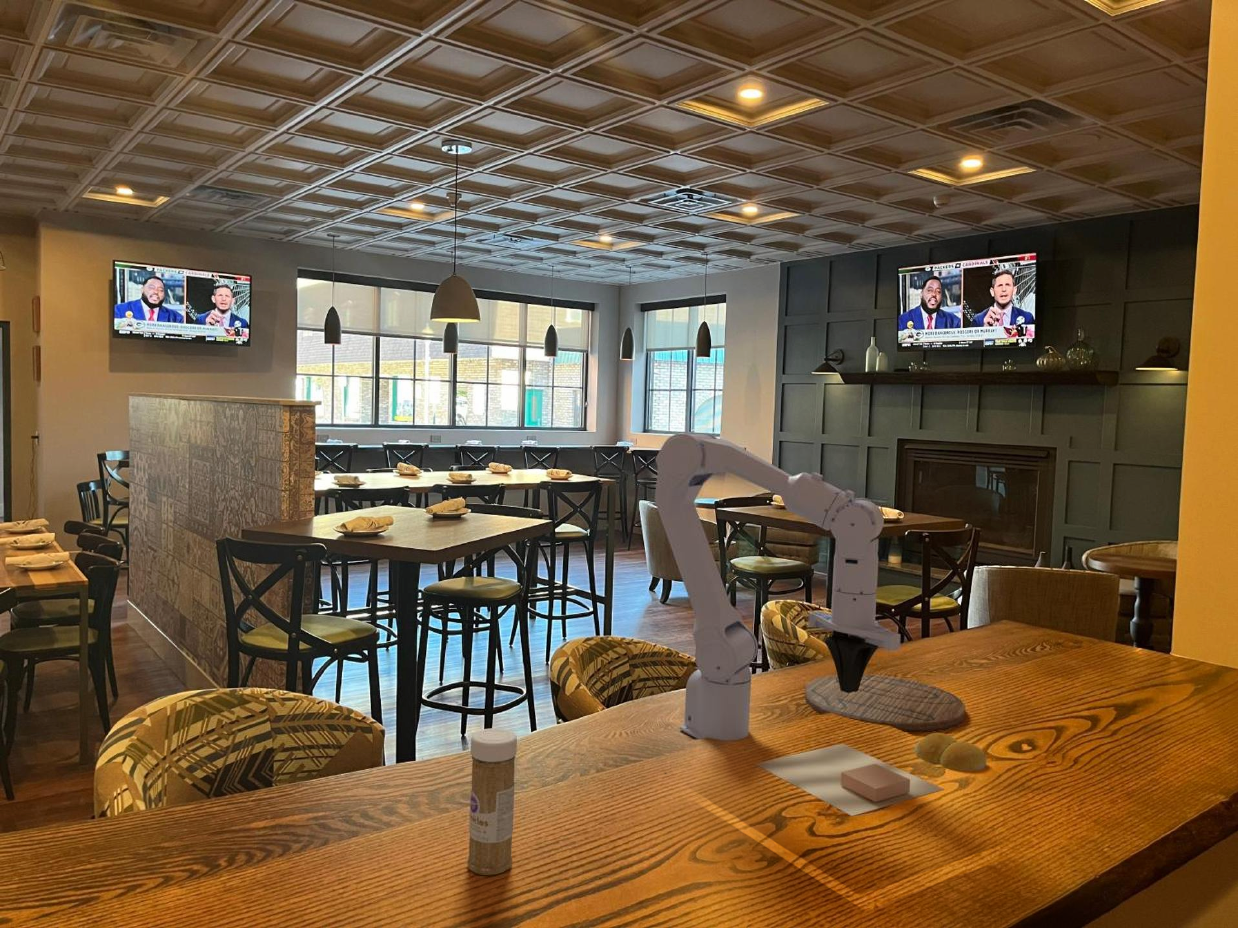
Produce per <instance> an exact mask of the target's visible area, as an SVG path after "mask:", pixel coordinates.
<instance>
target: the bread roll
mask: <svg viewBox="0 0 1238 928" xmlns="http://www.w3.org/2000/svg"><path fill="white" fill-rule="evenodd" d="M913 752H914V753H915V755H916V756H917V757H918V758H919V759H921V760H922V761H925V762H928V763H932V764H938V765H940V766H941V767H943V768H944V769H948V770H951V771H962V772H970V771H971V772H972V771H973V772H974V771H980V770H983V769H984V768H985V767H987V758H986V754H985V753H984V751H983V750H982V749H981V748H980V747H979V746H977V745H975V744H974V743H969V742H967V741H959V740H957V739H955V738H954V737H953V736H951V735H949V734H946V733H943V732H931V733H930V734H927V735H926V736H925V737H923V738H922V739H921V740H919V741H918V742H917V743H916V744H915V746H914V749H913Z"/></svg>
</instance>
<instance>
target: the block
mask: <svg viewBox="0 0 1238 928" xmlns="http://www.w3.org/2000/svg"><path fill="white" fill-rule="evenodd" d="M841 785H842V786H844V787H846V788H848V789H850V790H852V791H854V792H856V793H858V794H860V795H862V796H864V797H866V798H868V799H870V800H872V801H874V802H877V801H881V800H884V799H888V798H891V797H895V796H898V795H902V794H905V793H909V792H910V779H908V778H906V777H904V776H901V775H899V774H897V773H895V772H893V771H890V770H888V769H886V768H884V767H882V766H879V765H877V764H872V765H868V766H864V767H860V768H856V769H852V770H848V771H844V772H841Z"/></svg>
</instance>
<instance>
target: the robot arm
mask: <svg viewBox="0 0 1238 928" xmlns="http://www.w3.org/2000/svg"><path fill="white" fill-rule="evenodd" d="M655 463H656V465H657V474H656V476H657V477H656V485H655V494H654V501H655V506H656V508H657V511H658V514H659V516H660V520H661V522H662V525H663V528H664V530H665V533H666V538H667V539H668V543H669V546H670V549H671V551H672V554H673V557H674V559H675V562H676V565H677V567H678V570H679V573H680V577H681V580H682V582H683V585H684V588H685V591H686V593H687V596H688V600H689V601H690V605H691V608H692V610H693V613H694V616H695V618H694V623H693V624H694V625H693V629H692V637H693V639H694V643H695V653H694V659H695V664H696V666H697V669H696V670H695V671H693V673H691V675H690V676H689V678H688V680H687V683H686V687H685V699H684V700H685V701H684V702H685V703H684V705H685V706H684V723H683V725H679V730H680V731H683V732H684V733H686V734H688V735H689V736H691V737H694V738H695V739H697V740H702V739H705V738H710V739H714V740H720V741H738V740H742V739H745V738H747V737H748V736H749V734H750V732H749V731H750V716H751V715H750V714H751V692H752V691H751V690H752V687H751V686H752V673H751V670H750V664H751V663H752V662H753V661H754V660H755V658H756V656H757V654H758V650H759V649H758V648H759V647H758V646H759V645H758V640H757V638H756V636H755V634H754V632H753V631H752V630H750V629H749V627H747V625H746V623H745V622H744V620H743V617H742V615H741V613H740V612H739V611H738V610H737V609H736V608H735V607H734V606H733V605H732V604H731V602H730V600H729V597H728V594H727V591H726V588H725V586H724V585H725V584H724V582H723V580H722V577H721V574H720V572H719V568H718V565H717V563H716V561H715V558H714V555H713V552H712V549H711V547H710V544H709V540H708V538H707V536H706V532H705V530H704V527H703V523H702V522H701V519H700V516H699V513H698V510H697V507H696V505H695V501H696V499H697V498H698V495H699V494H700V492H701V490H702V488H703V486H704V484H705V483H706V482H707V481H708V480H709V479H710V478H711V477H713V476H714V475H715V474H725V473H726V474H727V473H728V474H732V475H735V476H737V477H739V478H741V479H744V480H745V481H747V482H750V483H751V484H754V485H756V486H758V487H761V488H763V489H764V490H767V491H769V492H771V493H773V494H776V495H778V496H779V497H780V498H781V500H782V502H783V506H784V507H785V510H787V511H789V512H791V513H793V514H794V515H797V516H799V518H802V519H804V520H807V522H809V523H812V524H814V525H815V526H817V527H820V528H821V529H823V530H825V531H829V530H830V531H831V533H832V536H833V538H834V539H835V549H834V556H833V570H832V571H833V573H832V591H831V592H832V594H831V606H830V607H831V610H830V611H831V612H830V613H828V612H823V611H819V610H817V611H811V612H808V627H810V628H819V629H823V630H826V631H829V632H832V634H831V636H827V637H825V638H824V639H825V640H824V644H825V645H826V647H827V649H828V650H829V653H830V655H831V657H832V660H833V662H834V663H833V664H834V666H835V670H836V675H838V680H839V685H840V690H841V691H843V692H846V693H852V692H857V691H858V689H859V686H860V683H861V679H862V676H863V674H865V670H866V668H867V667H868V664H869V662H870V660H871V659H872V657H873V656H874V654H875V652H876V651H877V650H878V649H879V647H880V648H883V650H885V651H888V652H890V651H891V652H892V651H898V650H901V634H900V633H896V632H894V631H892V630H889V629H888V628H885V627H883V626H881V625H879V622H878V621H876V610H877V593H878V577H879V575H878V573H879V556H878V555H879V554H878V552H879V538H877V537H878V536H879V535H880V533H881V532H882V530H883V528H884V523H885V520H884V515H883V512H882V510H881V508H880V507H879V506H878V505H877V504H875V503H874V502H872V501H871V499H869V498H865V497H859V498H855V497H854V496H855V494H856V493H855V492H854V491H851V490H850V489H847V490H845V491H843V490H842V489H840V488H838V487H836V486H835V485H832V484H830V483H828V482H826V481H824V480H823V478H824V475H823V474H820V473H819V472H812V473H811V474H810V473H808V472H806V471H805V472H804V471H803V472H801V473H798V474H795V475H792V474H789V473H787V472H786V471H784V470H782V469H781V468H779V467H777V466H775V465H773V464H772V463H770V462H768V461H766V460H764V459H762V458H761V457H759V456H757V455H755V454H754V453H752V452H750V451H748V450H746V449H745V448H742V447H741V446H739V445H737V444H736V443H732V442H731V441H729V440H727V439H726V440H725V439H722V438H718V437H716V436H714V435H712V434H711V433H706V432H705V433H704V432H703V433H701V432H700V433H697V434H696V433H693V434H692V433H691V434H690V433H689V434H688V433H683V432H682V433H681V432H679V433H676V434H673V435H671V436H669V437H668V438H666V440H665V442H664V443H663V445H662V446H661V448H660V450H659V452H658V453H657V456H656V457H655ZM854 498H855V499H854Z"/></svg>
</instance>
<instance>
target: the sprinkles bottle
mask: <svg viewBox="0 0 1238 928" xmlns="http://www.w3.org/2000/svg"><path fill="white" fill-rule="evenodd" d="M470 739H471V740H470V754H471V759H472V762H471V765H472V767H471V790H470V800H469V802H470V803H469V827H468V834H469V842H468V843H469V845H468V858H467V867H468V868H469V870H470V871H471V872H473V873H475V874H477V875H483V876H494V875H495V876H496V875H498V874H501V873H504V872H505V871H508V870H509V869H510V868H511V867H512V865H513V857H512V844H513V843H512V842H513V833H514V813H515V812H514V810H515V806H514V805H515V804H514V803H515V760H516V755H517V753H518V752H517V751H518V750H517V749H518V743H517V741H518V740H517V739H518V737H517V735H516V733H514V731H511V730H509V729H505V728H499V727H498V728H496V727H495V728H494V727H493V728H492V727H491V728H485V729H480V730H478V731H475V733H473V734H472V735H471V738H470Z"/></svg>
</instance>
